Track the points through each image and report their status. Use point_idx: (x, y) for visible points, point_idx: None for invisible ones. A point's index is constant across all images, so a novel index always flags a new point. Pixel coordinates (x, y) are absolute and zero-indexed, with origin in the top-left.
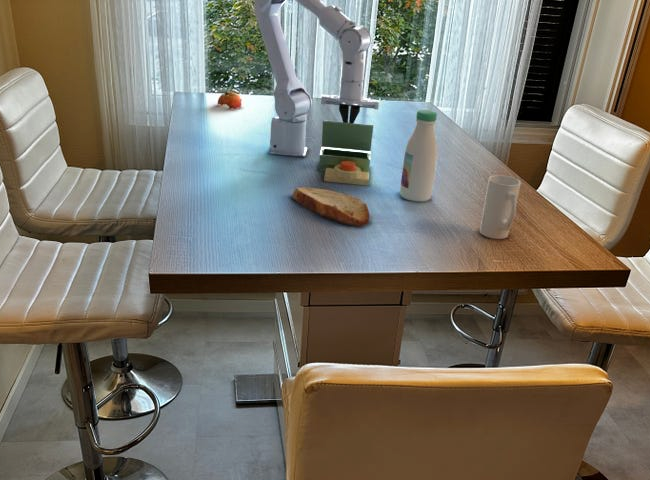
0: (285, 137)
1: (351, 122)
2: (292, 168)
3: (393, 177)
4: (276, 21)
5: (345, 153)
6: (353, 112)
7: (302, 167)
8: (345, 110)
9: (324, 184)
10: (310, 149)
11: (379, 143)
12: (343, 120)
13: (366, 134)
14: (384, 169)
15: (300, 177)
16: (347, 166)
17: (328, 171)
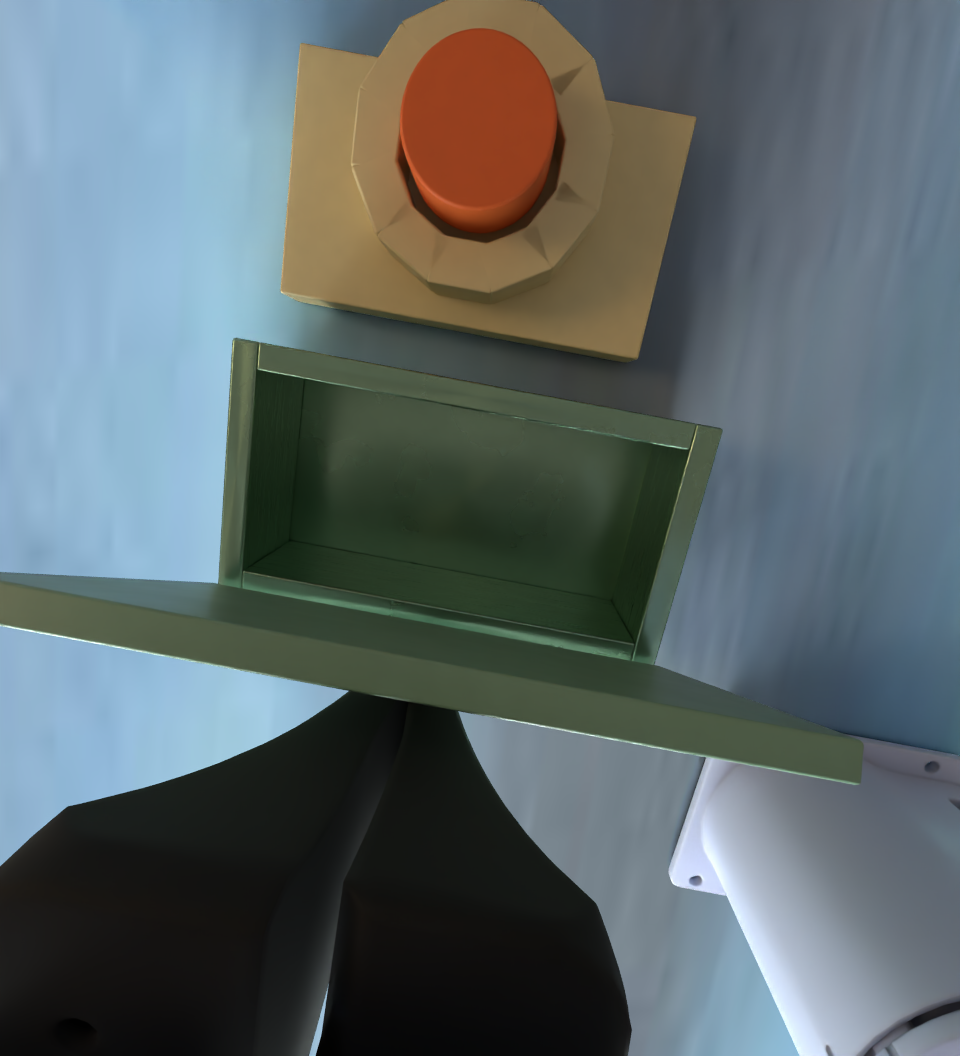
0: (957, 852)
1: (328, 734)
2: (871, 454)
3: (105, 334)
4: None
5: (444, 596)
6: (195, 841)
7: (784, 488)
8: (436, 905)
9: (693, 49)
10: (640, 876)
11: None
12: (474, 771)
13: (157, 590)
14: (166, 519)
15: (862, 224)
16: (495, 34)
17: (637, 254)
